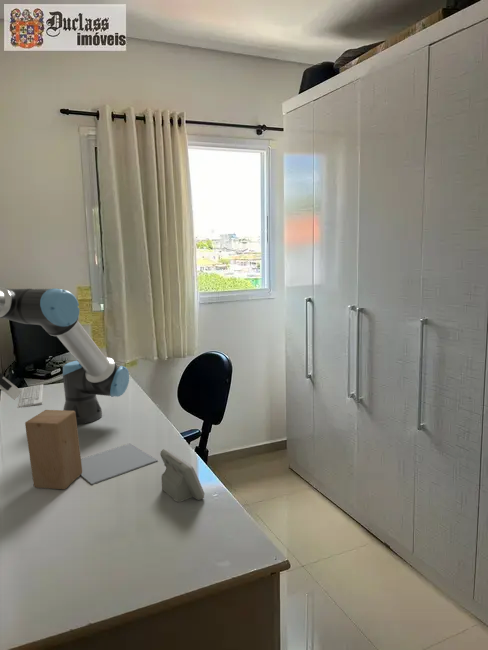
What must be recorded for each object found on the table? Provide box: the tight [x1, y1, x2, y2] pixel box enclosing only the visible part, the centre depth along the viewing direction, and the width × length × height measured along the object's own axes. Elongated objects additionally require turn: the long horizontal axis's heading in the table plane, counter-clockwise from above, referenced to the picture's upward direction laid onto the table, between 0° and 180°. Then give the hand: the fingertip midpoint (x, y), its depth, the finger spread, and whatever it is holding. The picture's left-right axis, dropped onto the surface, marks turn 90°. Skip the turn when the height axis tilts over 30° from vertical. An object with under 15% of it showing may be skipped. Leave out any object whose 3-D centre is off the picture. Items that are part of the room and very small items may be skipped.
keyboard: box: [16, 383, 44, 409], centre depth 223 cm, size 29×10×2 cm, turn 21°
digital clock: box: [160, 448, 205, 503], centre depth 135 cm, size 16×9×11 cm, turn 25°
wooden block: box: [24, 409, 82, 490], centre depth 141 cm, size 10×10×20 cm
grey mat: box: [79, 443, 158, 486], centre depth 154 cm, size 22×18×1 cm
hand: (8, 391), depth 131 cm, fingers open, 13 cm apart
